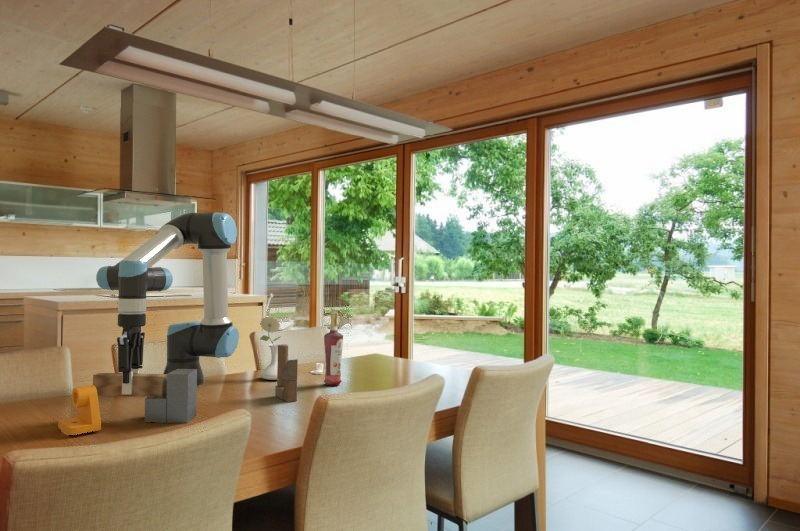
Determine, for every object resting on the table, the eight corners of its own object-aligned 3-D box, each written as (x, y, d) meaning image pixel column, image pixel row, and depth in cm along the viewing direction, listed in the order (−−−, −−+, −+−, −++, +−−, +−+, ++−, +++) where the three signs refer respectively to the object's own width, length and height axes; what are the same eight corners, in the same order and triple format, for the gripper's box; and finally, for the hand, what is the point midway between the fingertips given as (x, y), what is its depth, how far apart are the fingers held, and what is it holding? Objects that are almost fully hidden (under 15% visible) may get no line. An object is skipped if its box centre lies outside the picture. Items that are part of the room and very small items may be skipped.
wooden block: (287, 402, 191) (288, 348, 191) (274, 396, 199) (275, 344, 199) (297, 401, 193) (298, 348, 193) (284, 394, 202) (285, 343, 202)
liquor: (334, 387, 214) (335, 313, 214) (319, 385, 218) (320, 312, 218) (346, 384, 221) (347, 312, 221) (331, 382, 225) (332, 310, 224)
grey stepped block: (156, 414, 172) (157, 368, 172) (196, 415, 173) (197, 369, 173) (144, 422, 164) (145, 374, 164) (186, 423, 164) (187, 374, 164)
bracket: (56, 430, 155) (57, 386, 155) (85, 424, 161) (86, 382, 161) (71, 438, 148) (72, 392, 148) (101, 432, 154) (101, 388, 154)
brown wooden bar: (92, 395, 166) (93, 374, 166) (98, 393, 169) (99, 372, 169) (162, 397, 166) (162, 376, 166) (166, 394, 170) (167, 374, 170)
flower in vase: (294, 377, 231) (295, 316, 231) (276, 383, 221) (278, 318, 221) (268, 374, 237) (269, 314, 237) (249, 379, 226) (251, 316, 226)
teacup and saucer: (319, 376, 238) (319, 366, 238) (305, 373, 242) (305, 364, 242) (332, 373, 245) (333, 363, 245) (318, 370, 250) (319, 361, 250)
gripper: (131, 310, 176) (129, 386, 176) (105, 314, 159) (103, 398, 159) (156, 310, 176) (154, 386, 176) (132, 315, 160) (130, 399, 160)
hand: (130, 392), depth 168 cm, fingers closed on brown wooden bar, 3 cm apart
